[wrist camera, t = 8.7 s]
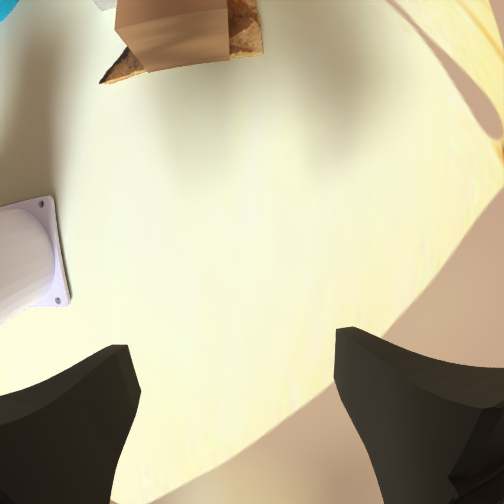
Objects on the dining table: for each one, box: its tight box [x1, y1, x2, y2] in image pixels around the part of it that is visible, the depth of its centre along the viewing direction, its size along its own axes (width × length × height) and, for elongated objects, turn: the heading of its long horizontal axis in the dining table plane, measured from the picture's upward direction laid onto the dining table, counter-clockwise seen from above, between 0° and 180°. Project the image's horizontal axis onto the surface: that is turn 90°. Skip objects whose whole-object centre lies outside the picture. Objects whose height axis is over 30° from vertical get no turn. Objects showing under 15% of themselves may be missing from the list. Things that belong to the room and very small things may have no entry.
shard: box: [99, 0, 263, 84], centre depth 15 cm, size 11×8×2 cm
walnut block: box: [115, 0, 230, 73], centre depth 12 cm, size 5×5×6 cm
